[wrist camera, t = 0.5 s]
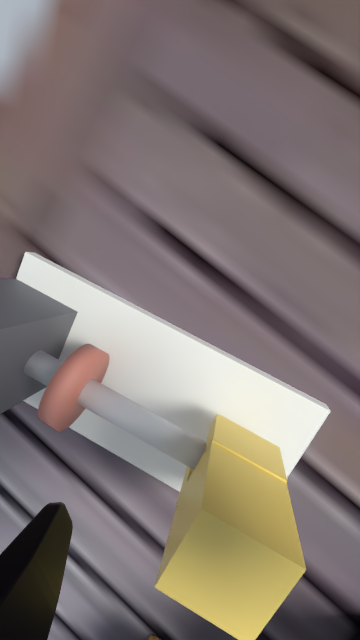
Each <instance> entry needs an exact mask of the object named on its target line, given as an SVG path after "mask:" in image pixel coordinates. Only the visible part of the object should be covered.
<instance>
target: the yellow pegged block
mask: <svg viewBox="0 0 360 640" xmlns="http://www.w3.org/2000/svg"><path fill="white" fill-rule="evenodd" d="M305 571H306V566H305V562H304V557H303V553H302V549H301V544H300V540H299V536H298V531H297V527H296V522H295V518H294V514H293V509H292V505H291V501H290V496H289V492H288V487H287V477H286V473H285V469H284V464H283V460H282V456H281V452H280V447H278V446H276V445H274V444H273V443H271V442H269V441H267V440H265V439H263V438H262V437H260V436H258V435H256V434H254V433H252V432H251V431H249V430H247V429H245V428H243V427H241V426H240V425H238V424H236V423H234V422H232V421H230V420H229V419H227V418H225V417H223V416H221V415H219V414H218V413H217V415H216V416H215V418H214V420H213V422H212V424H211V425H210V427H209V432H208V438H207V443H206V448H205V451H204V453H203V455H202V457H201V458H200V460H199V462H198V464H197V465H196V467H195V469H194V470H193V469H191V468H189V467H188V466H187V468H186V471H185V475H184V479H183V482H182V486H181V490H180V494H179V497H178V501H177V506H176V510H175V513H174V517H173V521H172V525H171V528H170V532H169V536H168V539H167V543H166V547H165V550H164V554H163V558H162V562H161V565H160V569H159V573H158V576H157V580H156V584H155V588H156V589H158V590H160V591H161V592H163V593H164V594H166V595H168V596H169V597H171V598H172V599H174V600H176V601H177V602H179V603H180V604H182V605H184V606H185V607H187V608H188V609H190V610H192V611H193V612H195V613H196V614H198V615H200V616H201V617H203V618H204V619H206V620H208V621H209V622H211V623H212V624H214V625H216V626H217V627H219V628H220V629H222V630H224V631H225V632H227V633H228V634H230V635H232V636H233V637H235V638H236V639H238V640H255V639H256V638H257V637H258V635H259V634H260V633H261V631H262V630H263V628H264V627H265V626H266V624H267V623H268V622H269V620H270V619H271V617H272V616H273V615H274V613H275V612H276V611H277V609H278V608H279V607H280V605H281V604H282V602H283V601H284V600H285V598H286V597H287V596H288V594H289V593H290V591H291V590H292V589H293V587H294V586H295V585H296V583H297V582H298V580H299V579H300V578H301V576H302V575H303V574H304V572H305Z"/></svg>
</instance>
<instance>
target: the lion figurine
mask: <svg viewBox="0 0 360 640" xmlns="http://www.w3.org/2000/svg"><path fill="white" fill-rule="evenodd" d="M148 640H161V639H160V638H158V637H157V636H154V635H150V637H149V638H148Z"/></svg>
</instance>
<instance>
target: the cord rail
mask: <svg viewBox="0 0 360 640" xmlns="http://www.w3.org/2000/svg"><path fill="white" fill-rule="evenodd" d="M22 401H24V402H26V403H28V404H30V405H31V406H33V407H35V408H37V409H38V418H39V420H41V421H42V422H44V423H46V424H47V425H49V426H51V427H52V428H54V429H56V430H58V431H60V432H61V431H64V430H65V429H67V428H68V427H69V428H71V429H73V430H74V431H76V432H78V433H79V434H81V435H83V436H85V437H86V438H88V439H90V440H91V441H93V442H95V443H97V444H98V445H100V446H102V447H104V448H105V449H107V450H109V451H110V452H112V453H114V454H116V455H117V456H119V457H121V458H122V459H124V460H126V461H128V462H129V463H131V464H133V465H134V466H136V467H138V468H140V469H141V470H143V471H145V472H146V473H148V474H150V475H152V476H153V477H155V478H157V479H158V480H160V481H162V482H164V483H165V484H167V485H169V486H171V487H172V488H174V489H176V490H177V491H179V492H180V490H181V486H182V482H183V479H184V475H185V471H186V468H187V466H188V467H189V468H191V469H193V470H194V469H195V467H196V465H197V464H198V462H199V460H200V458H201V457H202V455H203V453H204V451H205V448H206V443H207V438H208V432H209V427H210V425H211V424H212V422H213V420H214V418H215V416H216V415H217V413H218V414H219V415H221V416H223V417H225V418H227V419H229V420H230V421H232V422H234V423H236V424H238V425H240V426H241V427H243V428H245V429H247V430H249V431H251V432H252V433H254V434H256V435H258V436H260V437H262V438H263V439H265V440H267V441H269V442H271V443H273V444H274V445H276V446H278V447H280V452H281V456H282V460H283V464H284V469H285V473H286V477H288V476H289V474H290V473H291V471H292V470H293V468H294V467H295V465H296V464H297V462H298V461H299V459H300V457H301V456H302V454H303V453H304V451H305V450H306V448H307V447H308V445H309V444H310V442H311V441H312V439H313V438H314V436H315V434H316V433H317V431H318V430H319V428H320V427H321V425H322V424H323V422H324V421H325V419H326V418H327V416H328V415H329V413H330V409H329V408H328V406H327V405H326V404H325V403H323V402H321V401H319V400H317V399H315V398H313V397H311V396H309V395H307V394H305V393H303V392H301V391H300V390H298V389H296V388H294V387H292V386H290V385H288V384H286V383H284V382H282V381H280V380H278V379H276V378H275V377H273V376H271V375H269V374H267V373H265V372H263V371H261V370H259V369H257V368H255V367H253V366H251V365H250V364H248V363H246V362H244V361H242V360H240V359H238V358H236V357H234V356H232V355H230V354H228V353H226V352H225V351H223V350H221V349H219V348H217V347H215V346H213V345H211V344H209V343H207V342H205V341H203V340H201V339H200V338H198V337H196V336H194V335H192V334H190V333H188V332H186V331H184V330H182V329H180V328H178V327H177V326H175V325H173V324H171V323H169V322H167V321H165V320H163V319H161V318H159V317H157V316H155V315H153V314H152V313H150V312H148V311H146V310H144V309H142V308H140V307H138V306H136V305H134V304H132V303H130V302H128V301H127V300H125V299H123V298H121V297H119V296H117V295H115V294H113V293H111V292H109V291H107V290H105V289H103V288H102V287H100V286H98V285H96V284H94V283H92V282H90V281H88V280H86V279H84V278H82V277H80V276H78V275H77V274H75V273H73V272H71V271H69V270H67V269H65V268H63V267H61V266H59V265H57V264H55V263H53V262H52V261H50V260H48V259H46V258H44V257H42V256H40V255H38V254H36V253H31V252H25V255H24V257H23V260H22V263H21V266H20V269H19V272H18V275H17V277H16V279H0V414H1V413H3V412H4V411H6V410H8V409H9V408H11V407H13V406H15V405H16V404H18V403H20V402H22Z"/></svg>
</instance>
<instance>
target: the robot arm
mask: <svg viewBox="0 0 360 640" xmlns="http://www.w3.org/2000/svg"><path fill="white" fill-rule="evenodd" d="M72 528H73V527H72V521H71V518H70V516H69V513H68V511H67V509H66V506H65V504H64V503H62V502H58V503H49V504H47V505H46V506H45V507H44V508H43V509H42V510H41V511H40V512H39V513H38V514H37V515H36V516H35V518H34V519H33V520H32V521H31V522H30V523H29V524H28V525H27V526H26V527H25V528H24V529H23V531H22V532H21V533H20V534H19V535H18V536H17V537H16V538H15V539H14V540H13V541H12V543H11V544H10V545H9V546H8V547H7V548H6V549H5V550H4V551H3V552H2V553H1V554H0V640H47V638H48V635H49V631H50V628H51V624H52V621H53V617H54V614H55V610H56V607H57V603H58V599H59V594H60V590H61V585H62V580H63V575H64V570H65V565H66V560H67V555H68V550H69V545H70V540H71V535H72ZM353 640H360V632H359V633H358V634H357V635H356V636H355V638H354V639H353Z"/></svg>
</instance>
